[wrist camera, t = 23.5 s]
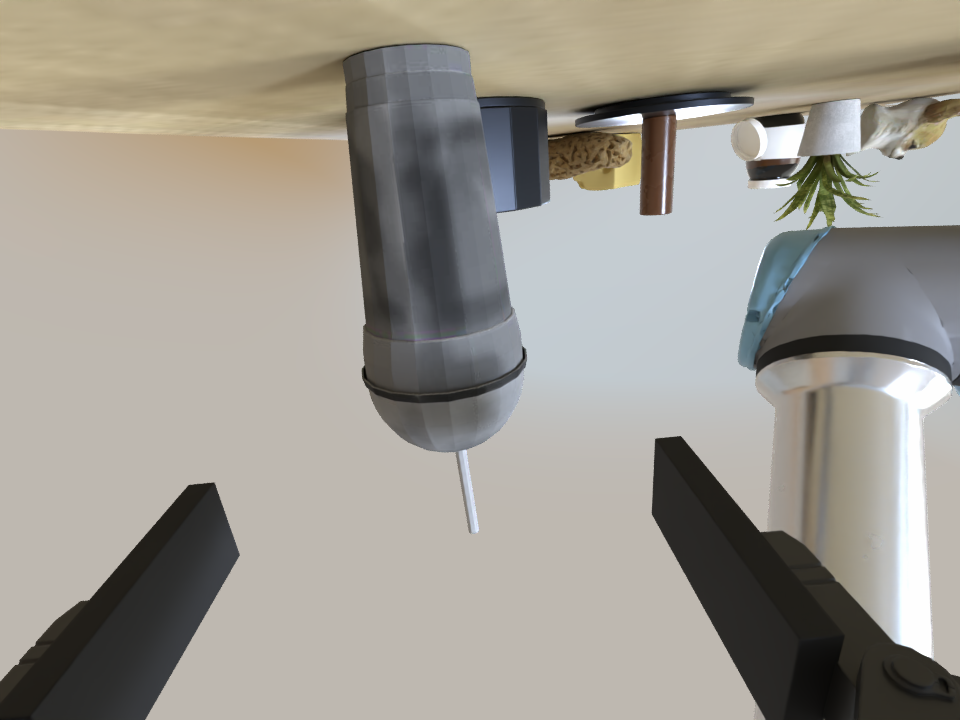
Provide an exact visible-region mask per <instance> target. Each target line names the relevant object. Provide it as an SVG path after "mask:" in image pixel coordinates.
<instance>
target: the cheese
mask: <svg viewBox="0 0 960 720" xmlns="http://www.w3.org/2000/svg"><path fill="white" fill-rule="evenodd" d="M614 135H620V136H622V137H625V138H627V139H628V140H630V141H631V142H632V144H633V145H632V157H631V159H630V161H629V162H628V163H626V164H625V165H623V166H621V167H620V168H602V169H598V170H595V171H589V172H587V173H584V174H580V175H577V176H575V177H573V179H574V180H575V181H577V182H578V184H579V186H580V187H581V188H582V189H586V190H607V189H615V188H619V187H625V186H632V185H637V184H639V182H640V178H641V149H642V140H641V134H640V133H633V134H614Z"/></svg>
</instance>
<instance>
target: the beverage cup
mask: <svg viewBox="0 0 960 720" xmlns="http://www.w3.org/2000/svg"><path fill="white" fill-rule="evenodd" d="M343 69H344V75H345V81H346V104H347V113H346V123H347V133H348V144H349V154H350V164H351V175H352V185H353V195H354V205H355V216H356V226H357V236H358V246H359V257H360V267H361V278H362V287H363V298H364V309H365V319H366V324H365V325H364V326H363V355H364V362H365V366H364V367H363V368H362V379H363V381H364V383H365V385H366V387H367V388H368V389H369V392H370V396H371V399H372V401H373V404H374V405H375V408H376V410H377V411H378V413H379V415H380V416H381V417H382V419H383V420H384V421H385V422H386V423H387V424H388V426H389V427H390V428H391V429H392V430H393V431H395V432H396V433H397V434H398V435H399V436H400V437H401V438H403V439H404V440H406V441H407V442H408V443H411V444H413V445H416V446H418V447H421V448H423V449H426V450H430V451H437V452H456V458H457V464H458V469H459V475H460V481H461V487H462V493H463V499H464V505H465V511H466V516H467V523H468V528H469V533H472V534H475V533H477V532H478V531H479V528H478V521H477V516H476V509H475V503H474V496H473V490H472V483H471V477H470V471H469V464H468V458H467V452H466V450H467V449H469V448H472V447H474V446H476V445H479V444H481V443H483V442H485V441H486V440H487V439H489V438H490V437H491V436H493V435H494V434H495V433H497V432H498V431H499V430H500V429H501V428H502V427H503V425H504V424H505V423H506V422H507V420H508V418H509V417H510V415H511V414H512V412H513V410H514V409H515V407H516V405H517V403H518V400H519V397H520V395H521V391H522V386H523V380H524V377H523V376H524V368H525V366H526V361H527V354H526V349H525V348H524V347H523V346H522V342H521V332H520V328H519V325H518V321H517V317H516V314H515V310H514V308H513V307H511V303H510V297H509V290H508V283H507V278H506V270H505V264H504V258H503V252H502V245H501V239H500V233H499V226H498V220H497V213H496V207H495V200H494V194H493V188H492V181H491V175H490V169H489V162H488V156H487V150H486V143H485V137H484V131H483V124H482V118H481V112H480V105H479V102H478V101H477V97H476V91H475V86H474V81H473V77H472V75H471V65H470V55H469V52H468V51H466V50H464V49H462V48H459V47H453V46H447V45H429V44H424V45H403V46H395V47H387V48H380V49H375V50H371V51H366V52H362V53H359V54H357V55H354V56H351V57H349V58H348V59H346V60H345V61H344V62H343Z"/></svg>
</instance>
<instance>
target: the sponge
mask: <svg viewBox="0 0 960 720" xmlns="http://www.w3.org/2000/svg"><path fill="white" fill-rule="evenodd" d="M632 145H633V144H632V142H631V141H630V140H628V139H627V138H625V137H622V136H620V135H613V134H610V133H602V132H584V133H577V134H571V135H567V136H565V137H563V138H558V139H549V140H548V156H549V180H554V179H558V180H562V179H568V178H571V177H575V176H577V175H580V174H584V173H587V172H589V171H595V170H598V169H602V168H620V167H621V166H623V165H625V164H626V163H628V162H629V161H630V159H631V157H632Z"/></svg>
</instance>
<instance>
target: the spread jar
mask: <svg viewBox="0 0 960 720" xmlns="http://www.w3.org/2000/svg"><path fill="white" fill-rule="evenodd" d="M804 130H805V122H804V117H803V115H802V114H800V113H795V114H784V115H775V116H768V117H761V118H755V119H753V118H747V119H745V120H743V121H741V122H739V123H737V124H736V125H735V126H734V128H733V130H732V133H731V142H732V147H733V149H734V151H735V153H736V154H737V155H738V156H739V158H741V159H742V160H745V161H746V170H747V174H748V176H749V178H750V179H749V181H748V188H751V189H763V188H778V187H781V186H777V185H775V184H787V183H790V182H791V181H789V180H785V179H788V178H790V177H791V175H792V173H793V172H794V171H795V170H796V168H797V167H798V164H799V161H800V158H801V157H797V153H798V150H799V147H800V143H801V140H802V137H803V133H804ZM787 186H791V184H790V185H787ZM787 186H782V187H787Z"/></svg>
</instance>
